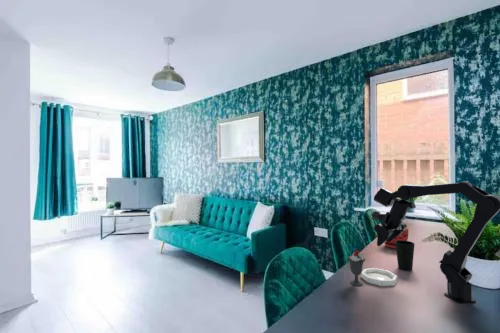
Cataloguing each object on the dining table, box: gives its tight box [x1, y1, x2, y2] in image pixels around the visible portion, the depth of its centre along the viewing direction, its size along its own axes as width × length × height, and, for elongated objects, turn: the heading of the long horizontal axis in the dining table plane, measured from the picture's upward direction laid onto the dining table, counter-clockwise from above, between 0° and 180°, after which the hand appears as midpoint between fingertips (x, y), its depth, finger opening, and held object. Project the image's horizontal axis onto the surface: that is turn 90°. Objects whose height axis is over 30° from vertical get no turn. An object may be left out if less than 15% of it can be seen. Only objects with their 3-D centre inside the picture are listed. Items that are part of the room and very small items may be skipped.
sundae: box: [347, 247, 366, 287], centre depth 106 cm, size 7×7×15 cm
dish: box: [360, 267, 398, 287], centre depth 110 cm, size 13×13×2 cm
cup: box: [395, 240, 415, 272], centre depth 121 cm, size 8×8×12 cm
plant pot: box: [384, 227, 409, 250], centre depth 154 cm, size 13×13×12 cm
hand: (383, 243), depth 114 cm, fingers open, 9 cm apart
